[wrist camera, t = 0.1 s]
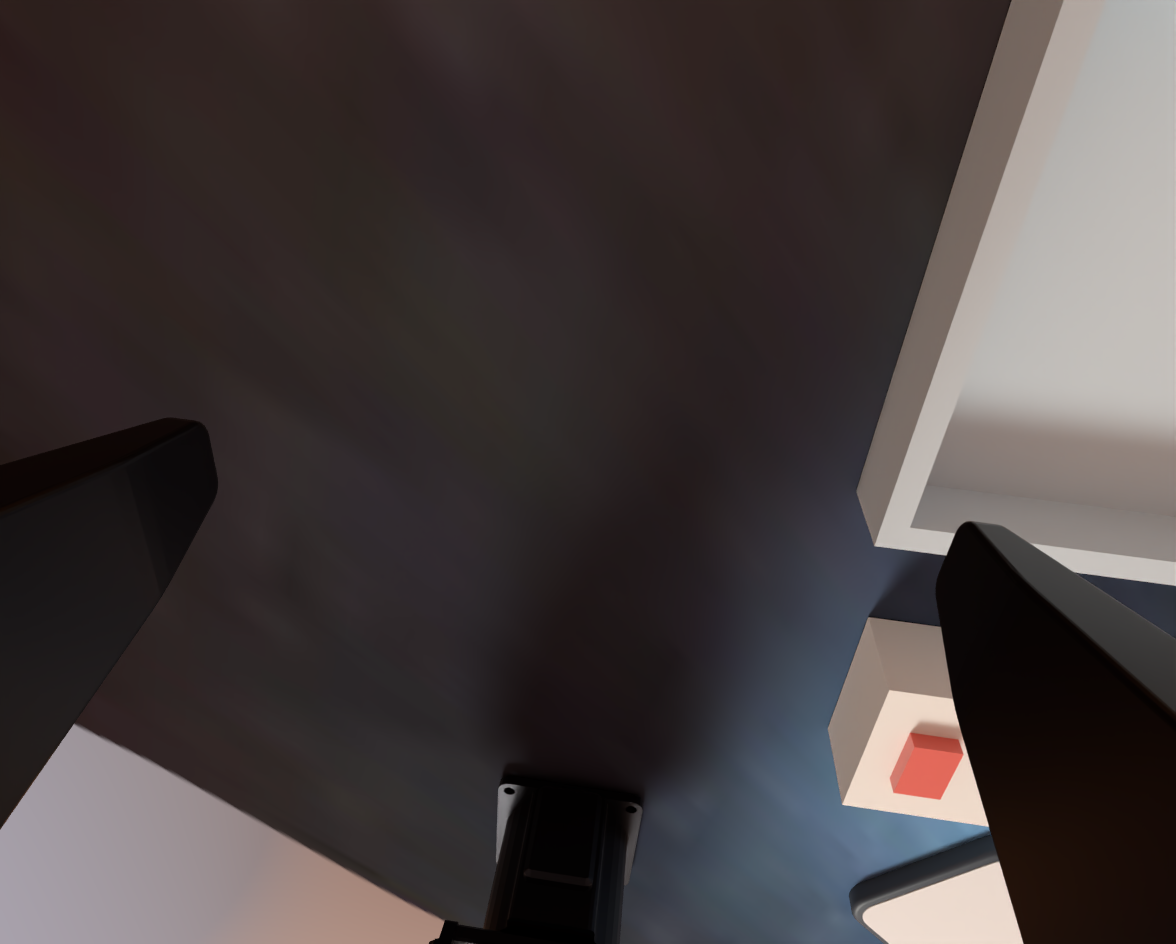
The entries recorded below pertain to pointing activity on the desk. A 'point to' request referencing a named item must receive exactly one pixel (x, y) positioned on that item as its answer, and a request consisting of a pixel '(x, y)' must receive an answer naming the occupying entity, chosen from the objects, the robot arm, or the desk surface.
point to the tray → (1049, 308)
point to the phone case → (940, 900)
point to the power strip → (902, 728)
